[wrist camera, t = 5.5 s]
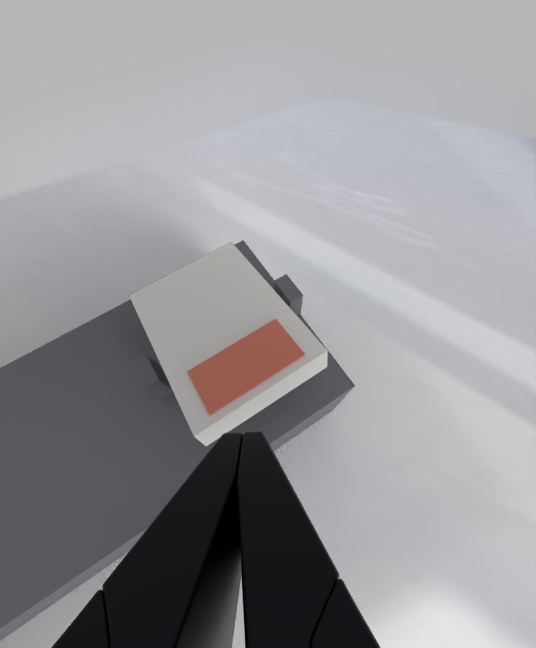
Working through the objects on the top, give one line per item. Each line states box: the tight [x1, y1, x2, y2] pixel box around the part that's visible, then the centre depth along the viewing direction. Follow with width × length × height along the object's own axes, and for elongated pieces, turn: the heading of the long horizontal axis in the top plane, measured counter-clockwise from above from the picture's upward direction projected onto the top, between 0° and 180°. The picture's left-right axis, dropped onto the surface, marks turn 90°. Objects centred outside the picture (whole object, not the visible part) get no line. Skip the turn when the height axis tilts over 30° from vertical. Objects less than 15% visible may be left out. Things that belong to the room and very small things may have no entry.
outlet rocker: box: [129, 242, 328, 446], centre depth 12 cm, size 7×5×1 cm
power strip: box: [0, 241, 355, 640], centre depth 14 cm, size 9×23×8 cm, turn 123°
